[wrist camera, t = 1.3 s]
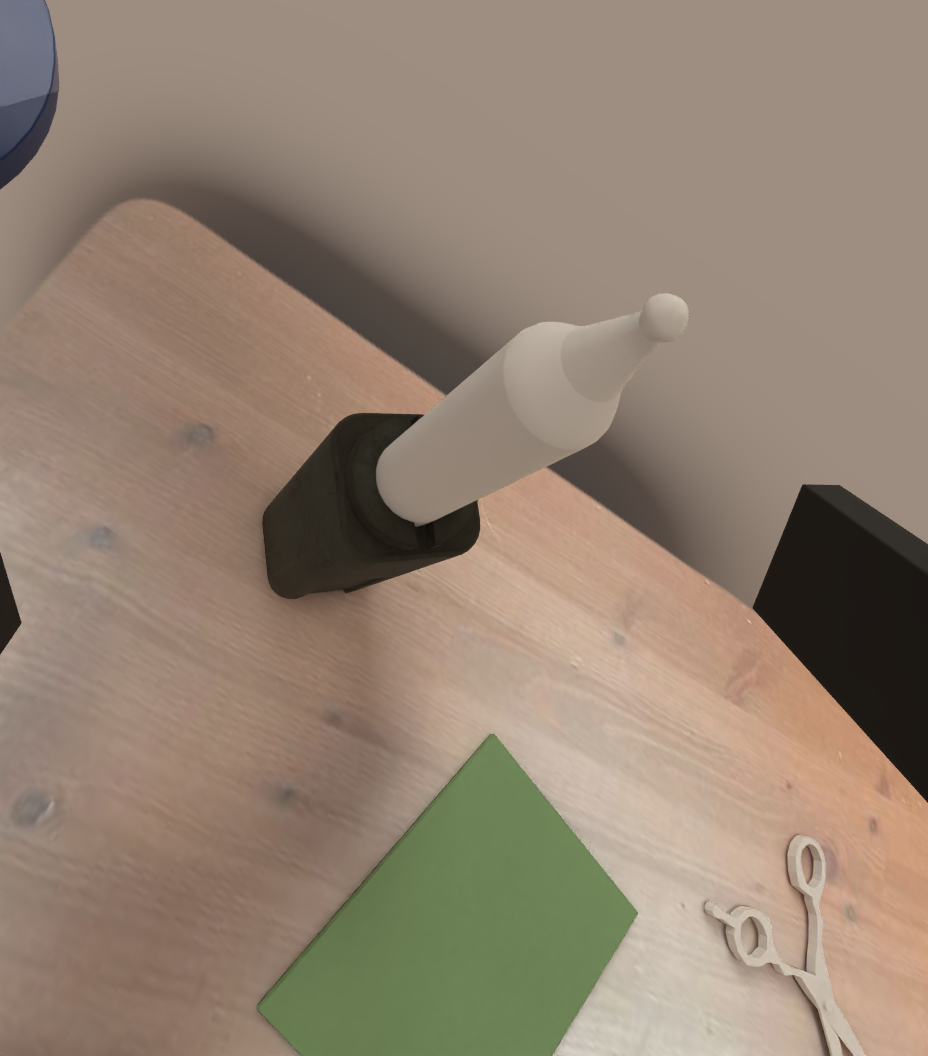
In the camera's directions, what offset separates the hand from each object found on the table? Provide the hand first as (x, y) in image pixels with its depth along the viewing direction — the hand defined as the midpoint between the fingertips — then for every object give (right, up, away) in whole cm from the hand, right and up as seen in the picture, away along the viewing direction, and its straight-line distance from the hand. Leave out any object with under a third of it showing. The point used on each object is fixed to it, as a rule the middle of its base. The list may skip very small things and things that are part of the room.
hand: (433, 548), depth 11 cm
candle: (-7, -1, +22) cm, 23 cm away
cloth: (+1, -21, +22) cm, 30 cm away
